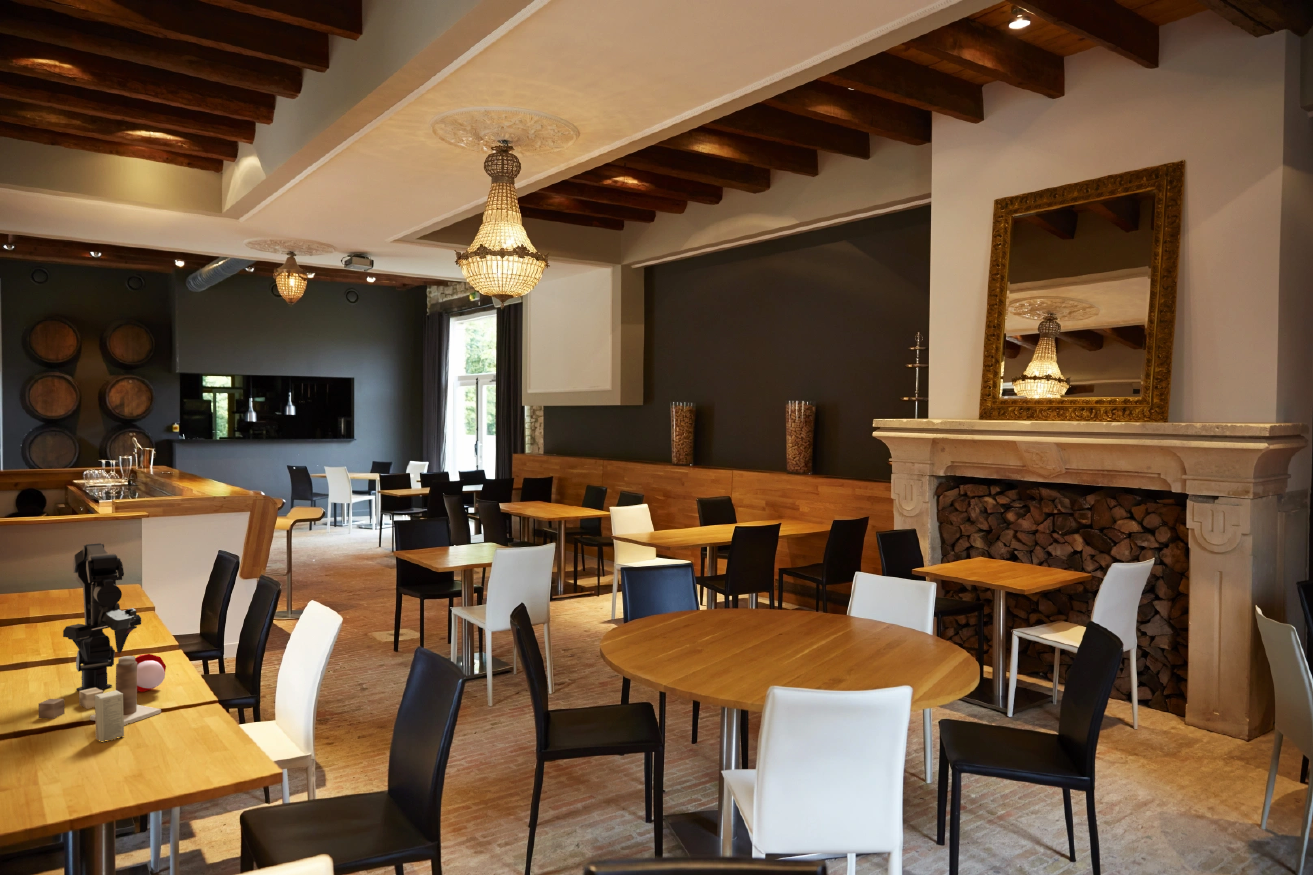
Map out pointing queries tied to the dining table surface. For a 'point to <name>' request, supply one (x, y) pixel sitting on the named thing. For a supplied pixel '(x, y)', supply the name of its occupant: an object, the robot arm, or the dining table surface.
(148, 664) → the mushroom
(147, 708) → the plate
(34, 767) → the dining table surface
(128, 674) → the pepper mill
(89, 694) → the oak block
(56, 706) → the walnut block
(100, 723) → the box
